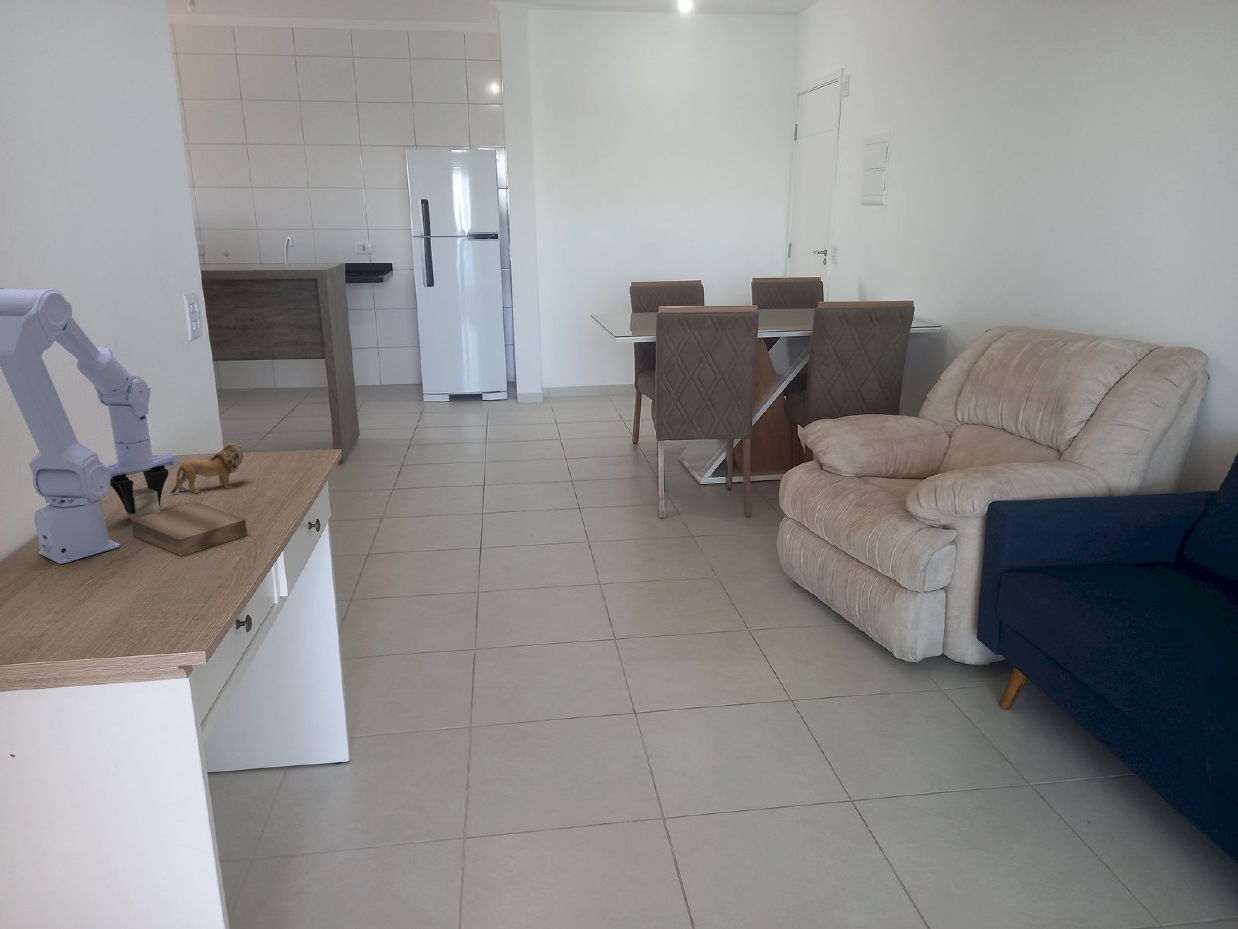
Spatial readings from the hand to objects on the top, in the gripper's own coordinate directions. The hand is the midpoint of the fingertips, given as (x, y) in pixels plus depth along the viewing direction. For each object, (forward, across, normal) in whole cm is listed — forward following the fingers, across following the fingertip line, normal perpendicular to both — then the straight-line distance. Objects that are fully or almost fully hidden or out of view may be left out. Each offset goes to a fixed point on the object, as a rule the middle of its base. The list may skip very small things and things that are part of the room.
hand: (143, 509), depth 157 cm
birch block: (+2, 0, 0) cm, 2 cm away
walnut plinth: (+2, 0, +16) cm, 16 cm away
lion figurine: (+2, -17, -6) cm, 18 cm away
